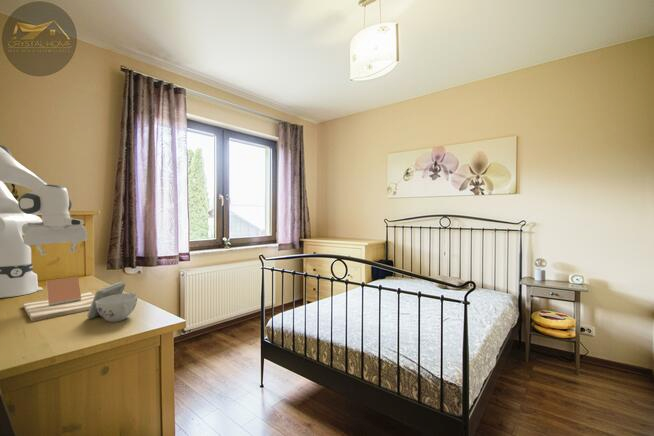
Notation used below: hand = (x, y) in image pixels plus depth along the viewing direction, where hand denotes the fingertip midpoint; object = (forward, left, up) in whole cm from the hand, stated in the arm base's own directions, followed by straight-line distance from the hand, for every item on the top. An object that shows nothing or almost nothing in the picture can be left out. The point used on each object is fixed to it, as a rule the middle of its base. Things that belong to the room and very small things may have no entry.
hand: (57, 253), depth 125 cm
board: (+10, +1, -22) cm, 24 cm away
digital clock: (+32, +10, -22) cm, 40 cm away
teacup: (+45, +10, -22) cm, 51 cm away
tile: (+7, +1, -16) cm, 17 cm away
